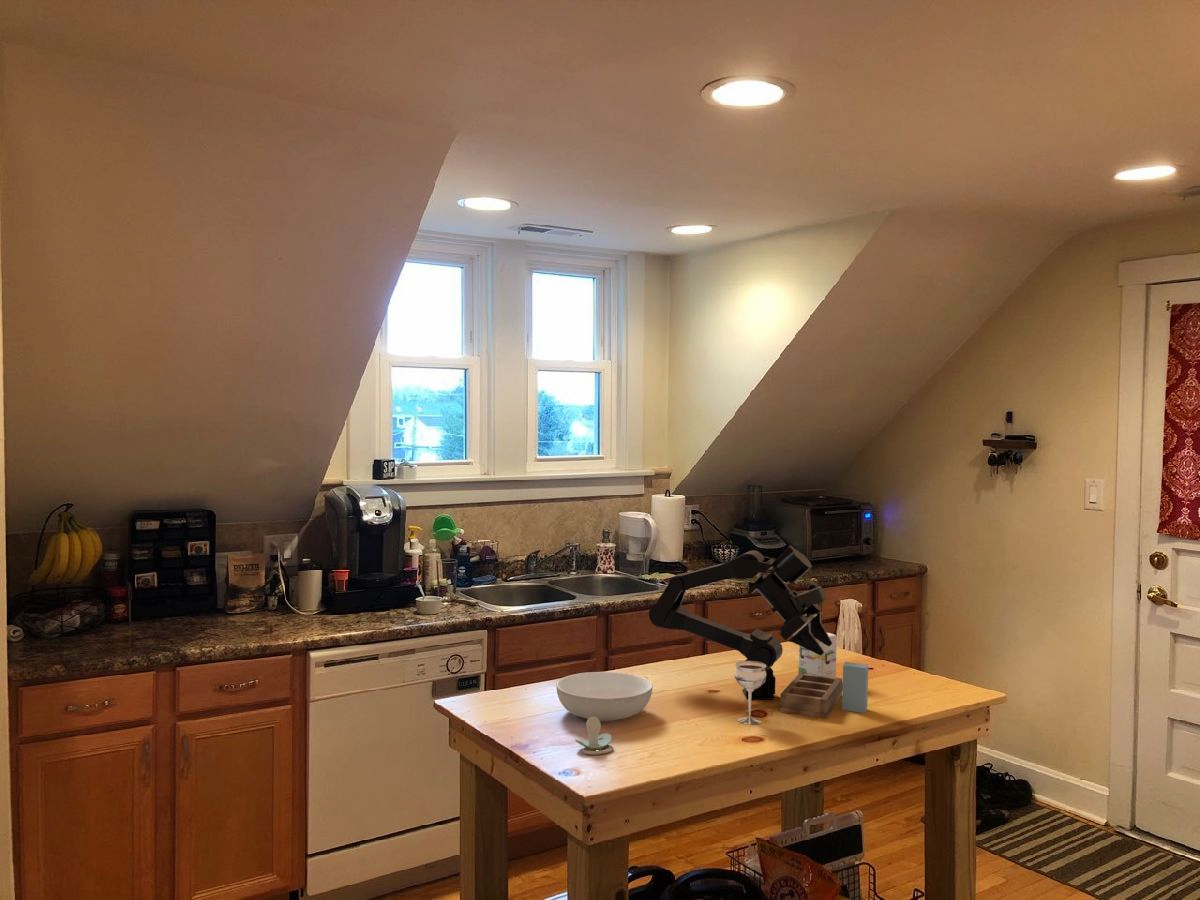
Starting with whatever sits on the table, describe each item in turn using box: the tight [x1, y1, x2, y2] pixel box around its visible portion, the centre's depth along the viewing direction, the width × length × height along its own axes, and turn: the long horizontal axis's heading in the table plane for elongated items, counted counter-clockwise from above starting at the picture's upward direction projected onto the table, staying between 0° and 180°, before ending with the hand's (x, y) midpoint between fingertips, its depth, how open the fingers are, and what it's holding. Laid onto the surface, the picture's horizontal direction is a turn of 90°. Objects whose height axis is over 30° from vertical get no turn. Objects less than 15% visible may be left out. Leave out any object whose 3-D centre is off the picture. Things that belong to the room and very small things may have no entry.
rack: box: [779, 673, 843, 719], centre depth 210 cm, size 10×19×4 cm, turn 155°
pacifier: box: [575, 717, 614, 756], centre depth 179 cm, size 7×6×6 cm
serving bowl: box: [555, 671, 654, 722], centre depth 200 cm, size 21×21×7 cm
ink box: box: [797, 632, 838, 678], centre depth 230 cm, size 8×5×12 cm, turn 32°
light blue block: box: [841, 661, 869, 714], centre depth 206 cm, size 5×3×10 cm, turn 65°
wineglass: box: [733, 660, 766, 726], centre depth 198 cm, size 7×7×12 cm
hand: (826, 649), depth 209 cm, fingers open, 9 cm apart
